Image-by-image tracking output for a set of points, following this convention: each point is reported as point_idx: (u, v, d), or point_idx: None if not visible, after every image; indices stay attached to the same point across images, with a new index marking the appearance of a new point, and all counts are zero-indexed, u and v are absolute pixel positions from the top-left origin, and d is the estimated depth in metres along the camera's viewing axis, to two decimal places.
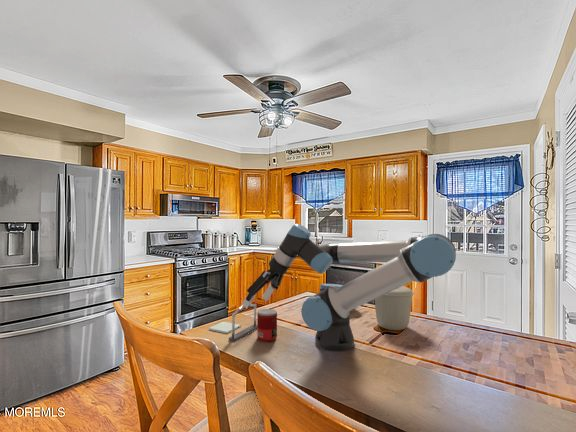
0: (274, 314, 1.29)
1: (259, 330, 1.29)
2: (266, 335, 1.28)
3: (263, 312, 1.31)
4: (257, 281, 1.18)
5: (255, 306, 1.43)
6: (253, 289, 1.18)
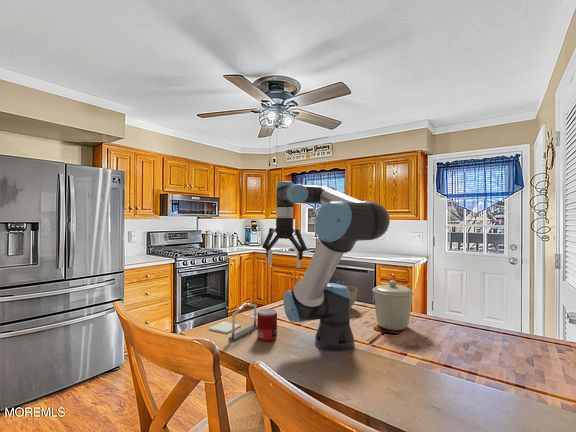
0: (274, 314, 1.29)
1: (259, 330, 1.29)
2: (266, 335, 1.28)
3: (263, 312, 1.31)
4: None
5: (255, 306, 1.43)
6: None
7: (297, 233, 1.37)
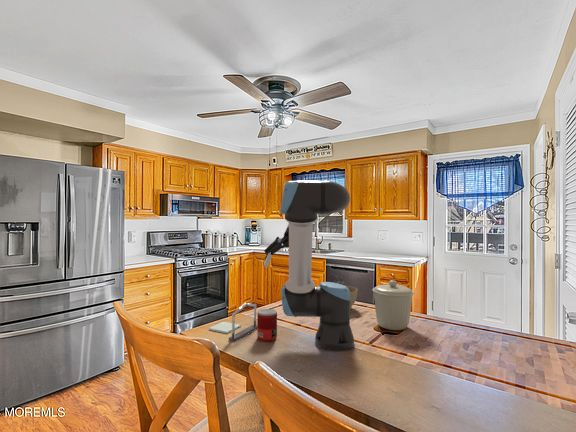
0: (274, 314, 1.29)
1: (259, 330, 1.29)
2: (266, 335, 1.28)
3: (263, 312, 1.31)
4: None
5: (255, 306, 1.43)
6: None
7: None
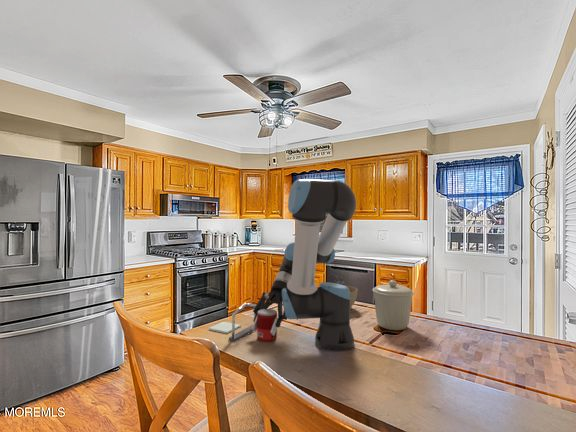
0: (274, 314, 1.29)
1: (259, 330, 1.29)
2: (266, 335, 1.28)
3: (263, 312, 1.31)
4: None
5: (255, 306, 1.43)
6: None
7: None
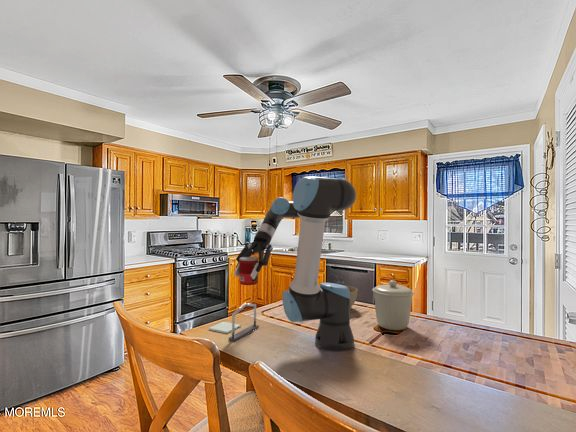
0: (255, 260, 1.37)
1: (240, 275, 1.37)
2: (247, 279, 1.36)
3: (245, 258, 1.40)
4: None
5: (255, 306, 1.43)
6: None
7: (268, 247, 1.42)
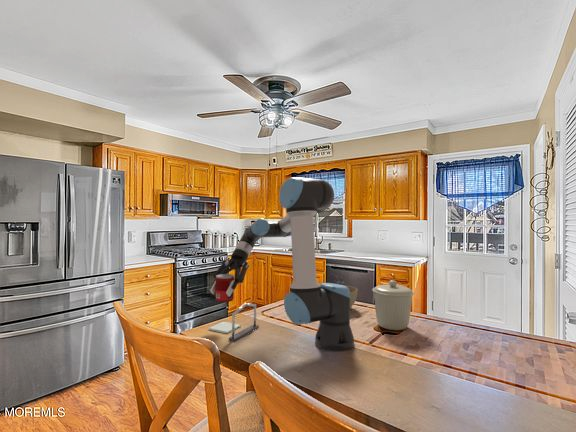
0: (230, 277, 1.42)
1: (217, 292, 1.42)
2: (222, 296, 1.40)
3: (221, 276, 1.44)
4: None
5: (255, 306, 1.43)
6: None
7: (244, 265, 1.47)
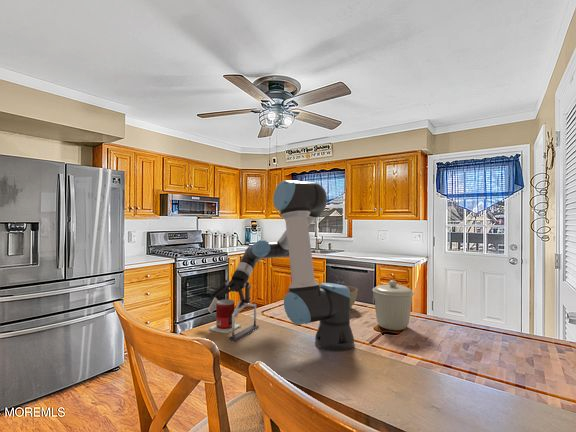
0: (231, 303, 1.41)
1: (217, 318, 1.41)
2: (223, 323, 1.39)
3: (221, 302, 1.43)
4: None
5: (255, 306, 1.43)
6: None
7: (246, 285, 1.47)
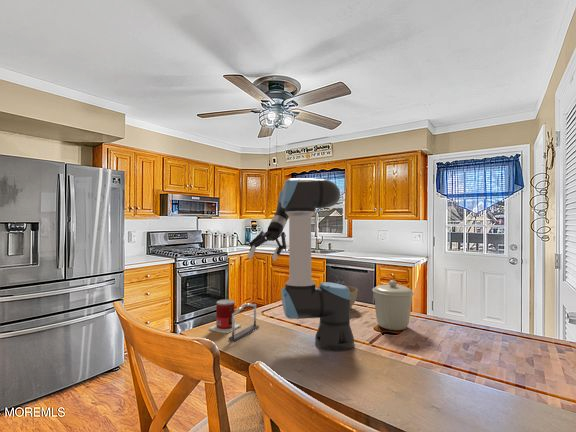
0: (231, 304, 1.41)
1: (217, 318, 1.41)
2: (223, 323, 1.39)
3: (222, 302, 1.43)
4: None
5: (255, 306, 1.43)
6: None
7: (282, 234, 1.59)
